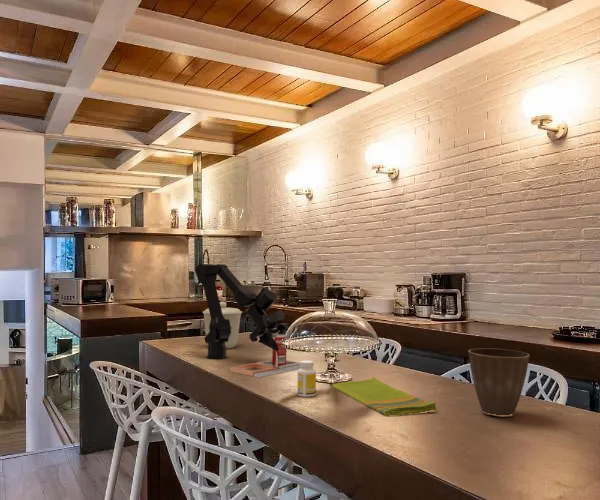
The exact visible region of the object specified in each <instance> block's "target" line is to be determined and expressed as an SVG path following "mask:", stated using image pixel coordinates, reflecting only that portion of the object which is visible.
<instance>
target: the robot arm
mask: <svg viewBox="0 0 600 500" xmlns="http://www.w3.org/2000/svg"><path fill="white" fill-rule="evenodd" d="M195 275H196V278H197V280H198V281H199V282H200V284H201V285H202V287H203V290H204V295H205V298H206V304H207V309H209V312H210V316H211V321H210V325H209V330H210V332H209V333H208V334H207V335H206V334H205V336H204V343H206V344H207V343H208V344H207V356H206V357H205V358H206V359H215V360H217V359H218V360H222V359H224V358H226V357H228V356H227V349H226V346H225V342H228V339H229V336H230V334H231V329H232V328H231V326H230V321H229V319H225V318H224V317H223V314H222V310H221V306H220V302H221V301H220V297H219V294H218V291H217V286H216V282H217V278H218V277H219V278H220V280H222V282H223V283H224V284H225V285H226V286H227V288H228V289H229V290H230V292H232V294H233V299H234V300H235V303H236V304H237V306H238V307H240V308H244V307H245V308H247V307H248V308H247V309H244V310H243V311H244V312H243V318H246V317H248V318H249V317H250V319H251V320H252V322H253V323H254V324H253V325H252V326H253V327H254V329H253V330H252V332H250V334H249V340H250V341H251V343H254V342H255V343H256V342H258V343H261V345H264V346H266V347H268V348H271V350H272V349H274V350H276V351H278V350H279V348H278V346H277V344H276V343H275V341H274V339H273V336H274V334H284V335H286V334H287V332H288V331H289V330H288V328H289V327H290V325H289V324H288V323H279V322H282V321H285V317H286V314H285V313H284V311H282V310H278V311H276V312H273V313H271V314H267V313H266V311H267V310H269V309H270V308H271V306H272V305H273V304H274V303H275V301H277V298H278V296H277V294H276V293H275V292H273V291H271V290H270V289H268V288H267V287H263V288H261V290H260V292H259V293H258V294H256V293H255V292H254V291H252V290H251V289H250V288H248V287H246V286H244V285H243V284H242V283H241V282H240V280H239V279H238V278H237V277H236V276H235V275H234V273H232V271H231V270H230V269H229V268H228V265H226V264H224V263H221V264H220V263H218V264H212V263H199V264H198V265H197V266H196V268H195ZM264 310H265V311H264ZM287 330H288V331H287ZM286 331H287V332H286ZM258 337H259V338H258ZM258 339H259V340H258Z"/></svg>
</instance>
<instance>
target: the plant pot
mask: <svg viewBox="0 0 600 500" xmlns="http://www.w3.org/2000/svg"><path fill="white" fill-rule="evenodd" d="M468 357H469V366H470V371H471V375H472V381H473V384H474V385H473V386H474V389H475V393H476V396H477V398H478V399H477V400H478V402H479V406H480V408H481V411H482V412H483V411H484V412H486V413H490V414H496V415H510V414H513V413H514V414H515V412H516V410H517V409H516V408H517V407H518V405H519V404H518V403H519V401H520V398H521V396H522V395H521V394H522V393H523V392H522V391H523V388H524V384H525V382H526V381H525V380H526V376H527V372H528V366H529V361H530V354H529V353H527V352H524V351H519V350H513V349H504V348H492V347H491V348H490V347H489V348H488V347H487V348H485V347H484V348H483V347H481V348H471V349H468ZM514 414H513V415H514Z"/></svg>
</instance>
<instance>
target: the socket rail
mask: <svg viewBox="0 0 600 500" xmlns="http://www.w3.org/2000/svg"><path fill="white" fill-rule="evenodd" d="M300 368H301V367H300V361H299V362H298V361H294V360H293V361H292V360H287V359H286V365H284V366H275V365H272V359H271V360H264V361H258V362H256V363H255V362H252V363H247V364H242V365H241V364H240V365H235V366H230V367H229V372H230V373H236V374H242V375H245V376H250V377H255V378H260V377H266V376H271V375H272V376H273V375H276V374H283V373H287V372H292V371H296V370H297V371H298V370H299V369H300ZM249 369H257V370H249Z"/></svg>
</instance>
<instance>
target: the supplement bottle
mask: <svg viewBox="0 0 600 500" xmlns="http://www.w3.org/2000/svg"><path fill="white" fill-rule="evenodd" d="M299 363H300V367H301V368H300V369H298V370H297V395H298V396H299V397H303V398H304V397H305V398H306V397H307V398H310V397H315V396H316V391H317V371H316V369H315V368H314V366H315V363H314V361H313V360H301V361H299Z"/></svg>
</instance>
